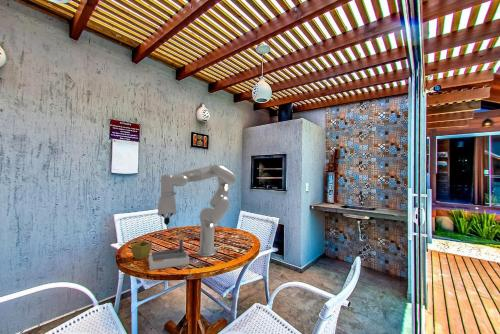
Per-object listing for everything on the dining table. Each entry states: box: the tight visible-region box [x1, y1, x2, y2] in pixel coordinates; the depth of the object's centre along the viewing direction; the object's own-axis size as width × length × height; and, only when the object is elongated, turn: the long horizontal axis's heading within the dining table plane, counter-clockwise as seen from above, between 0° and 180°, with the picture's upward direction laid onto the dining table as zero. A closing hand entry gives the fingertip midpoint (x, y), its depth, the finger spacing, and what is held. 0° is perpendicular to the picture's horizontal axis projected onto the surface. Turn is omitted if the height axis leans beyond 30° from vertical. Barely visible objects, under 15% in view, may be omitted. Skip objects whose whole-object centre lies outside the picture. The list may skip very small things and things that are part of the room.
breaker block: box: [147, 248, 190, 271], centre depth 135 cm, size 22×14×6 cm, turn 118°
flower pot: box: [130, 241, 153, 261], centre depth 142 cm, size 9×9×9 cm
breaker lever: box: [176, 233, 185, 253], centre depth 139 cm, size 4×6×12 cm, turn 28°
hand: (166, 224), depth 136 cm, fingers closed
